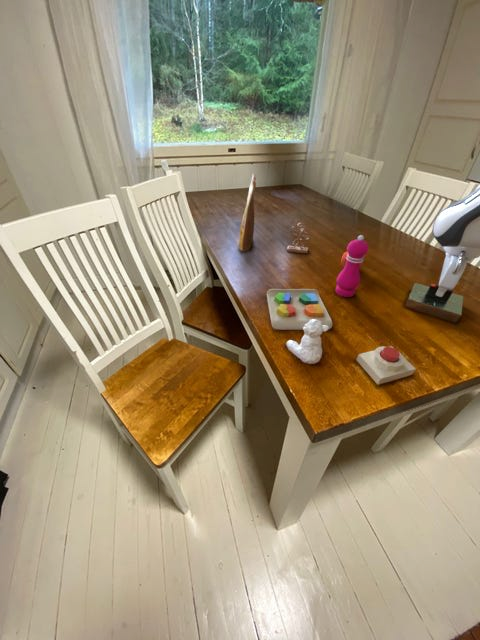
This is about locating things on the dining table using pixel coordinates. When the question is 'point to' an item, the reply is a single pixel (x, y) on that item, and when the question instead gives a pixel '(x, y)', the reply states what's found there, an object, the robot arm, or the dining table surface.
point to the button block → (384, 366)
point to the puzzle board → (296, 308)
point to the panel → (435, 304)
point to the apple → (344, 260)
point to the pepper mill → (352, 267)
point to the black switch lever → (433, 290)
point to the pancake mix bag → (248, 219)
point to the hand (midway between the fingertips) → (440, 288)
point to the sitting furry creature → (309, 342)
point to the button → (390, 354)
